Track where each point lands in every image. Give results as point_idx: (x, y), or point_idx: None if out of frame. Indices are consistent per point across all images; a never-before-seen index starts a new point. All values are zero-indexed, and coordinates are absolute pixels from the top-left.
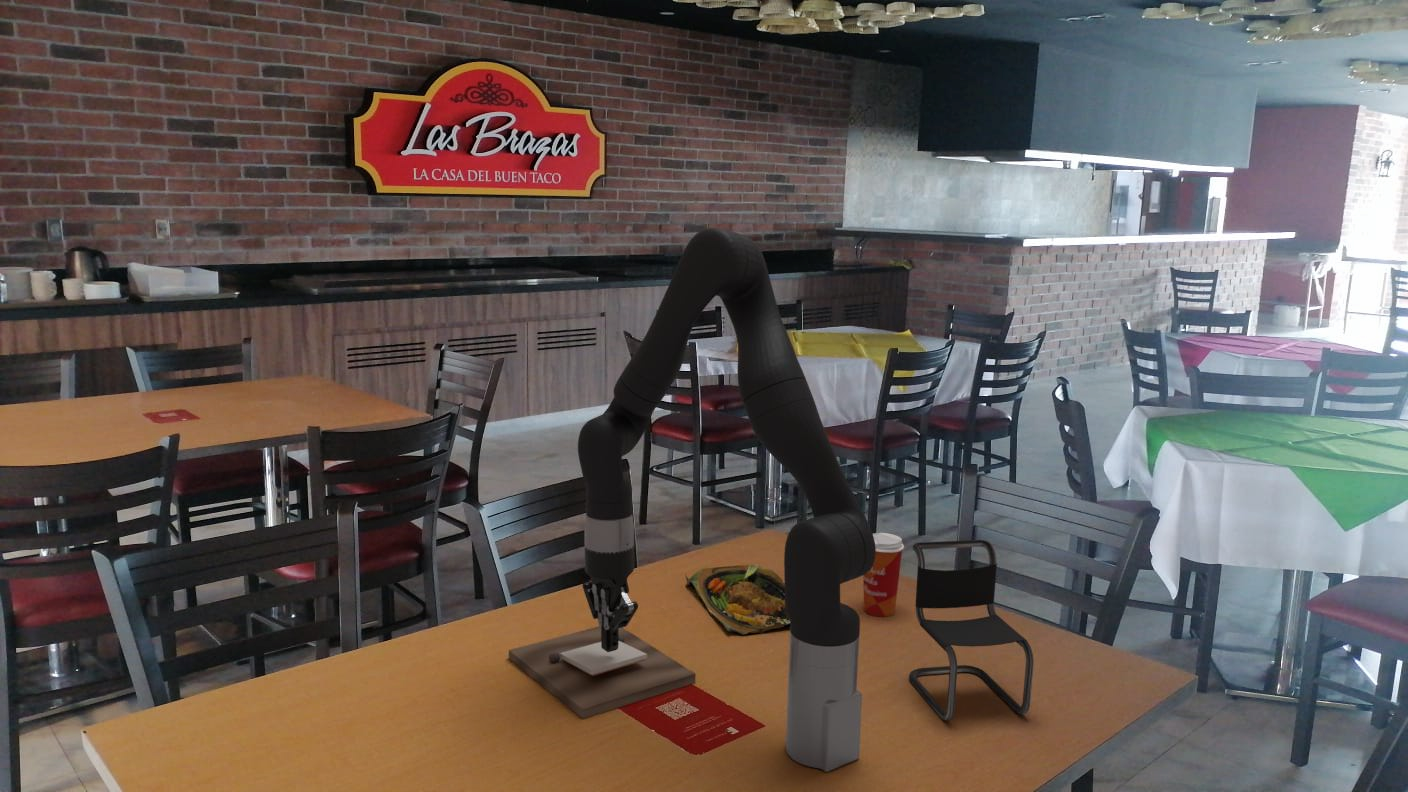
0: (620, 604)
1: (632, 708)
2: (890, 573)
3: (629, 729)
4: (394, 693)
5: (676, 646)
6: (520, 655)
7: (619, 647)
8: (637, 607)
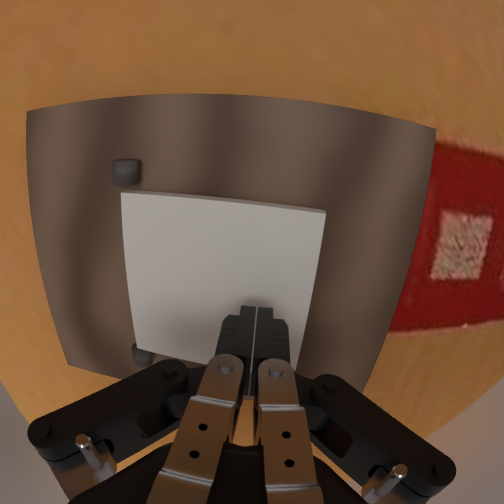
0: (367, 500)
1: (399, 314)
2: None
3: (434, 352)
4: (128, 459)
5: (211, 12)
6: (94, 367)
7: (202, 233)
8: (451, 463)
